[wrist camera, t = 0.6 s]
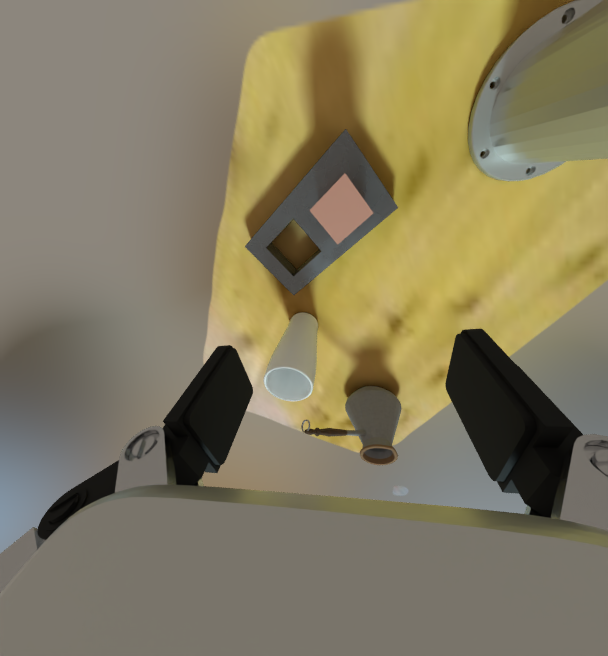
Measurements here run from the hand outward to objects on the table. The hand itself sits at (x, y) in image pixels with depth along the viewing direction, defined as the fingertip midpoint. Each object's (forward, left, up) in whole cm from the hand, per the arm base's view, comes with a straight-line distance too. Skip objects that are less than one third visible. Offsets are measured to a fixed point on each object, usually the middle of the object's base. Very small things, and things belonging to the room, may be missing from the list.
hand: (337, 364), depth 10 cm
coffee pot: (+18, +27, -27) cm, 42 cm away
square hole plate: (+2, -3, -27) cm, 27 cm away
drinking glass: (+15, +8, -27) cm, 32 cm away
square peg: (-3, -3, -24) cm, 24 cm away
